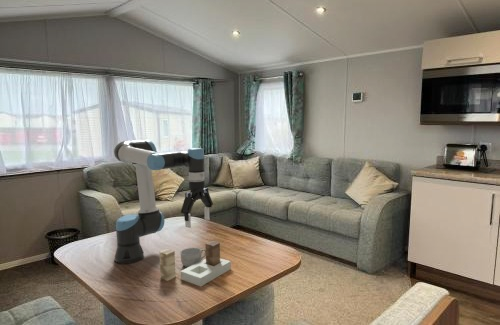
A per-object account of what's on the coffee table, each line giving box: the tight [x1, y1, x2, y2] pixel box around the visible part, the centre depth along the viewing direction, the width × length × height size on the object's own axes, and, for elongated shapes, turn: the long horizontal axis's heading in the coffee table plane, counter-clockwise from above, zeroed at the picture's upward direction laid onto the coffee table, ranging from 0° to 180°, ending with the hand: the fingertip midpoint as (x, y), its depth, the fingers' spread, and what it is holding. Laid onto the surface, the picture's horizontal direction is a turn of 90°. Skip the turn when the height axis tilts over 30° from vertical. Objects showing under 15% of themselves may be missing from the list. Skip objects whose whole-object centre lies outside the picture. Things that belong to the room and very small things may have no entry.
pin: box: [159, 248, 177, 282], centre depth 161 cm, size 5×5×13 cm
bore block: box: [179, 257, 232, 287], centre depth 164 cm, size 13×22×4 cm, turn 145°
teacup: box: [179, 247, 206, 268], centre depth 175 cm, size 14×11×8 cm
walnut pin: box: [204, 240, 221, 266], centre depth 168 cm, size 5×5×13 cm
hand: (198, 223), depth 163 cm, fingers open, 13 cm apart
